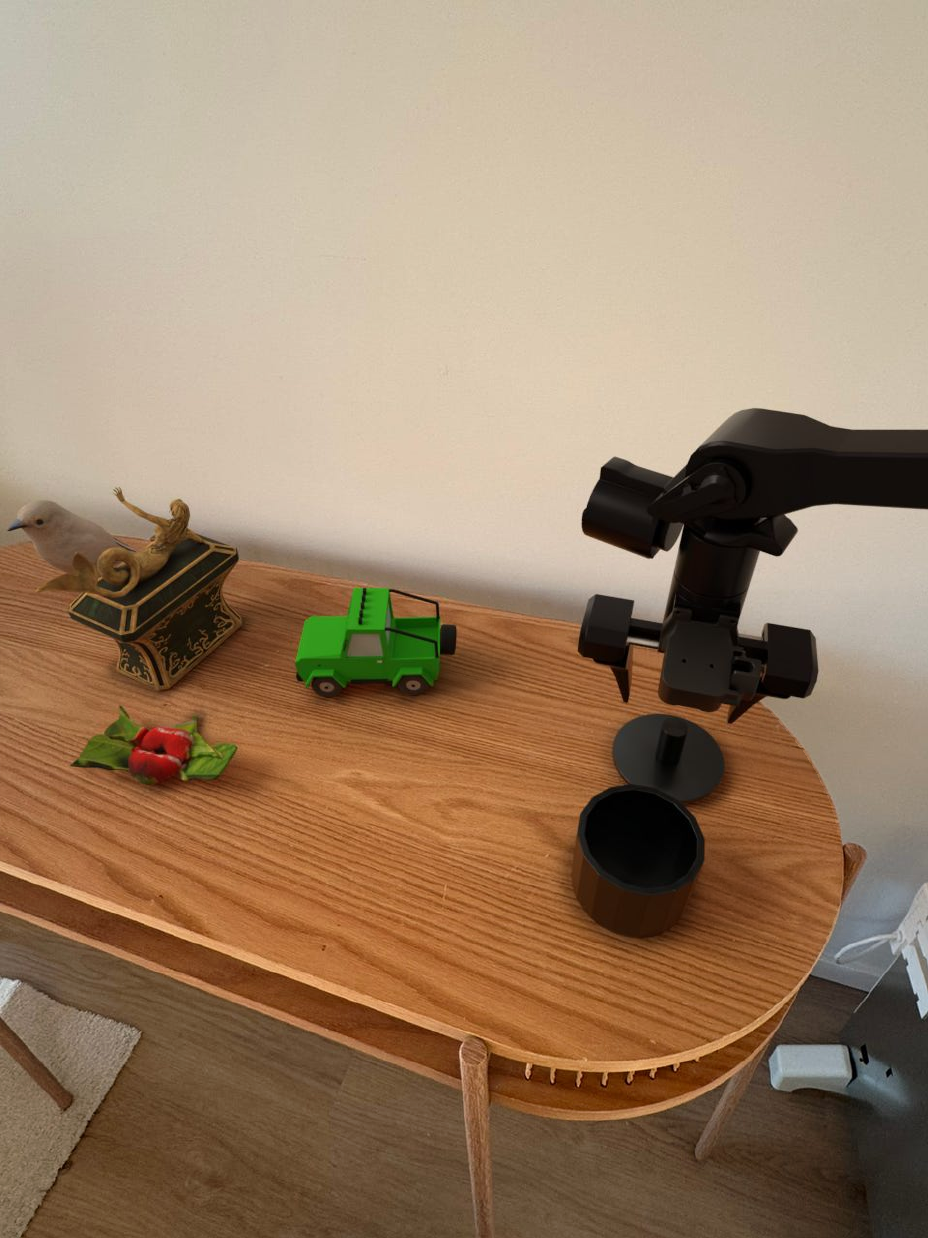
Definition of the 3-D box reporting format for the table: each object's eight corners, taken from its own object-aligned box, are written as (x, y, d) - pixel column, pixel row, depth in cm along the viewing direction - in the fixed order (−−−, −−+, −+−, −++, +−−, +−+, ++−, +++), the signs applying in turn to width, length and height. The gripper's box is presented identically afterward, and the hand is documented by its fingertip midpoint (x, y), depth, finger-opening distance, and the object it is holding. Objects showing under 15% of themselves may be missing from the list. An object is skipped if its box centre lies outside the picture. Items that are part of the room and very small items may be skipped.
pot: (707, 869, 63) (724, 823, 58) (657, 962, 57) (671, 920, 52) (605, 812, 67) (614, 765, 63) (550, 893, 62) (554, 848, 57)
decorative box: (202, 593, 93) (155, 454, 80) (260, 616, 89) (221, 474, 76) (71, 696, 80) (-10, 550, 67) (133, 727, 76) (60, 580, 63)
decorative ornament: (65, 764, 69) (123, 682, 76) (91, 789, 73) (144, 709, 79) (203, 787, 65) (251, 698, 72) (223, 813, 68) (267, 726, 75)
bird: (43, 613, 91) (-12, 511, 81) (135, 559, 99) (95, 460, 89) (66, 628, 89) (13, 525, 79) (158, 571, 97) (120, 471, 87)
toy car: (310, 647, 85) (295, 580, 78) (458, 644, 85) (455, 576, 78) (298, 701, 79) (281, 632, 72) (458, 697, 79) (455, 629, 72)
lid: (738, 751, 72) (751, 716, 69) (695, 827, 66) (706, 793, 62) (641, 705, 77) (648, 670, 74) (591, 772, 71) (597, 736, 67)
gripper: (573, 620, 53) (559, 755, 63) (851, 669, 49) (787, 806, 59) (597, 534, 61) (581, 667, 71) (838, 570, 56) (783, 706, 67)
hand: (676, 709), depth 67 cm, fingers open, 9 cm apart
